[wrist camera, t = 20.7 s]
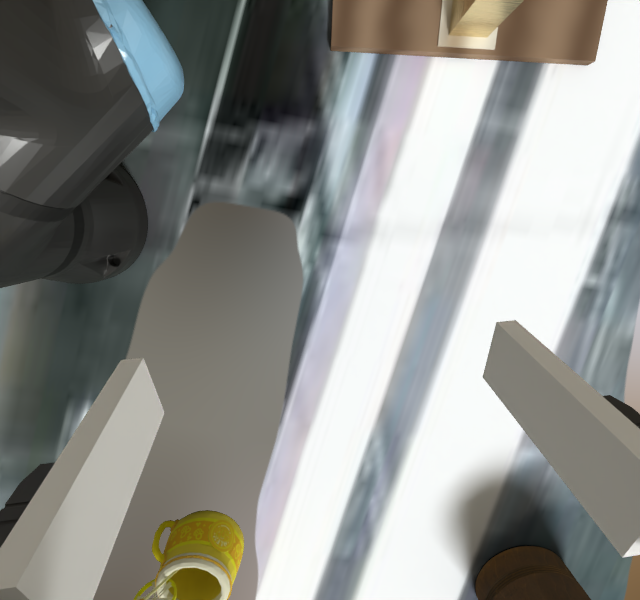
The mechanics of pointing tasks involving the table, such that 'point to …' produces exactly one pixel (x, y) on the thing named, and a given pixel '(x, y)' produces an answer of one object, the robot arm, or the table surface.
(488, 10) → the tan wooden brick
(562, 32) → the mounting board
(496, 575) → the wooden container
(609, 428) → the robot arm
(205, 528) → the mug
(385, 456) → the table surface
